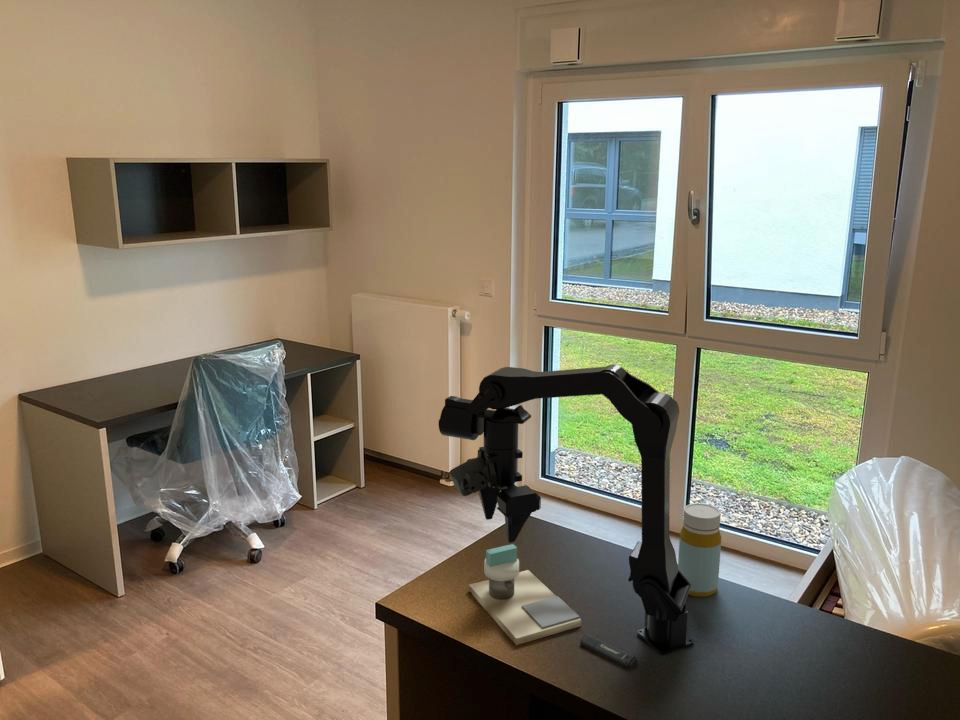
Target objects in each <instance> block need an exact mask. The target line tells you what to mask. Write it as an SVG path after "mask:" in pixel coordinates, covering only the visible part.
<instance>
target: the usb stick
mask: <svg viewBox="0 0 960 720" xmlns="http://www.w3.org/2000/svg"><path fill="white" fill-rule="evenodd" d="M580 647H583V648H585V649H587V650H589V651H590V652H592V653H594V654H596V655H599V656H601V657H602V658H604V659H607V660H609V661H611V662H613V663H615V664H617V665H619V666H621V667H623V668H624V669H626V670H632V669H634V668H635V667H636V666H637V664H638V659H637V657H636V656H634V655H633V654H631V653H628V652H626V651H624V650H621V649H619V648H617V647H615V646H614V645H611V644H610V643H607V642H605V641H603V640H601V639H599V638H596V637H594V636H593V635H591V634H586V635H584V636H583V637H582V638H581V639H580Z"/></svg>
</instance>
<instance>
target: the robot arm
mask: <svg viewBox="0 0 960 720" xmlns="http://www.w3.org/2000/svg"><path fill="white" fill-rule="evenodd" d="M595 395H597V396H598V395H599V396H600V395H602V396H604V397H605V398H606V399H608V401H610V403H611V404H612V406H613V407H614V408H615V409H616V410H617V412H618V413H619V414H620V416H621V417H622V418H624V419H625V420H627V422H629V423H630V425H631V427H632V435H633V438H634V442H635V444H636V447H637V450H638V453H639V456H640V459H641V460H640V462H641V465H640V466H641V467H640V468H641V470H640V471H641V541H640V540H638V541H637V542H636V544H635V546H634V548H633V549H632V551H631V553H630V555H629V556H628V565H629V570H630V573H629V578H628V580H627V581H628V582H629V583H630V582H632V589H633V591H634V594H637V595H638V596H639V598H640V599H641V602H642V605H643V608H644V628H641V629H638V630H637V632H636V634H637V635H638V636H639V637H640V638H641V639H642V640H643V641H645V642H646V643H647V644H648V645H649V646H650V647H651V648H653V650H655V651H656V652H658V653H659V654H660V655H666V654H669V653H672V652H675V651H679V650H681V649H684V648H687V647H691V646H694V644H695V643H694V642H695V641H694V640H693V639H692V638H691V637H690V636H689V635H687V633H688V632H687V631H688V618H689V615H688V614H689V611H688V610H687V606H686V604H685V603H686V601H687V598H688V593H689V591H690V588H691V584H690V582H689V581H688V580H687V579H686V578H685V577H684V576H683V574H682V573H681V572H680V571H679V570H678V560H677V555H676V551H675V548H674V546H673V543H672V540H671V537H670V515H671V514H670V510H671V509H670V507H671V506H670V503H671V502H670V495H671V494H670V493H671V492H670V488H671V487H670V485H671V484H670V483H671V482H670V481H671V480H670V477H671V476H670V475H671V473H670V469H671V467H670V466H671V460H670V459H671V456H670V455H671V450H672V447H673V443H674V438H675V435H676V431H677V427H678V421H679V417H680V416H679V415H680V407H679V404H678V402H677V401H676V400H675V398H673V397H672V396H671V395H669V394H667V393H665V392H660V391H659V390H657V389H655V387H653V386H652V384H651V385H650V384H649V383H647V382H646V381H644V380H642V379H640V378H638V377H636V376H634V375H633V374H631V373H629V372H628V371H627V370H626V369H625V368H623V367H622V366H620V365H618V364H613V363H612V364H609V365H606V366H599V367H598V366H597V367H584V368H573V369H561V370H547V371H533V370H531V369H527V368H523V367H522V368H521V367H514V366H513V367H512V366H504V367H501V368H499V369H497V370H495V371H493V372H492V373H490V374H488V375H485V376H484V377H483V378H482V380H481V381H480V384H479V387H478V393H477V394H476V396H475V397H474V398H473V399H467V398H461V397H458V396H455V395H450V396H448V397H447V398H445V399H444V406H443V408H442V409H441V412H440V417H439V419H438V430H439V433H440V434H441V435H442V436H446V437H451V438H458V439H462V440H469V441H475V440H477V439H478V437H479V436H482V435H483V446H479V448H478V449H477V456H476V457H472V458H468V459H467V460H466V461H465V462H463V463H461V464H459V465H457V466H456V467H454V468H451V469H450V470H449V475H450V478H451V481H452V483H453V485H454V488H455V490H457V491H458V492H459V493H460V494H461V496H463V497H467V496H471V495H472V494H475V493H477V492H478V496H479V499H480V504H481V507H482V510H483V513H484V518H485V520H487V521H488V520H492V519H493V517H494V514H495V511H496V509H497V510H498V512H500V513H501V514H502V515H503V516H504V522H505V529H506V530H505V531H506V532H505V533H506V537H507V542H508V543H511V544H512V543H514V542H515V541H516V540H517V539H518V536H519V534H520V533H521V531H522V529H523V527H524V525H525V524H526V522H527V520H528V519H529V518H530V516H531V515H532V513H535V512H536V511H540V510H541V507H542V506H541V505H542V503H541V502H542V497H541V496H540V495H539V494H538V493H537V492H536V491H534V490H533V489H532V488H531V487H530V486H528V485H527V484H525V485H519V486H517V485H515V484H516V483H517V482H522V481H523V475H522V473H520V472H518V471H519V470H518V469H519V466H518V464H519V459H522V458H523V455H524V454H523V451H522V450H520V449H519V424H520V425H524V424H525V423H526V422H527V421H529V420H530V419H531V418H532V415H531V414H530V413H529V411H527V410H526V409H525V408H524V406H523V405H521V404H523V403H527V402H529V401H532V400H535V399H536V400H537V399H551V398H552V399H553V398H566V397H567V398H568V397H579V396H580V397H582V396H595ZM517 405H518V406H517ZM514 406H517V407H515V408H509V407H514Z"/></svg>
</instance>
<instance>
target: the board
mask: <svg viewBox="0 0 960 720" xmlns="http://www.w3.org/2000/svg"><path fill="white" fill-rule="evenodd" d="M468 592H469V593H470V592H471V593H472V594H471V593H470V594H471V595H472V596H473V598H474V599H476V601H477V602H478V604H480V605H481V606H482V608H483V609H484V610H485V611H486V613H488V614H489V616H490V617H491V618H492V619H493V620H494V621H495V622H496V624H497V625H498V626H499V627H500V628H501V630H502V631H503V632H504V633H505V634H506V635H507V637H509V638H510V640H511V641H512V642H513V643H514V644H515V645H516V646H519V645H521V644H525V643H528V642H532V641H535V640H539V639H542V638H545V637H549V636H551V635H555V634H559V633H562V632H566V631H568V630H572V629H575V628H579V627H581V626H582V619H581V617H580V616H579V614H578V613H577V612H575V610H574V609H572V608H571V607H570V606H569V605H568V604H567V603H566V602H565V601H564V600H563V599H561V598H560V597H559V596H558V595H556V594H555V593H553V591H552V590H550V589H549V588H548V587H547V586H546V585H545V584H544V583H543V582H542V581H541V580H540V579H538V578H537V576H535V574H533V573H532V572H531V571H530V570H529V569H526V570H523V571H519V575H518V576H517V577H516V578H514V579H512V580H508V581H495V580H492V579H490V578H488V579H487V580H482V581H479V582H475V583H470V584H468Z"/></svg>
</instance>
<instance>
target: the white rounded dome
mask: <svg viewBox="0 0 960 720" xmlns="http://www.w3.org/2000/svg"><path fill="white" fill-rule="evenodd" d="M483 562H484V566H483V567H484V568H483V569H484V571H483V572H484V573H483V574H484V576H485V577H487V578H488V579H489V578H490V579H492V580H495V581H508V580H512V579H514V578H516V577H517V576H518V575H519V572H520V559H519V558H518V547H517V545H515V544H514V543H511V544H507V545H502V546H497V547H495V548H494V547H493V548H490V549H486V550H485V558H484V561H483Z"/></svg>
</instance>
